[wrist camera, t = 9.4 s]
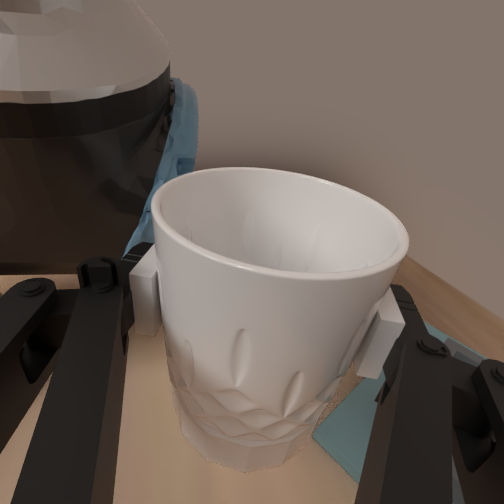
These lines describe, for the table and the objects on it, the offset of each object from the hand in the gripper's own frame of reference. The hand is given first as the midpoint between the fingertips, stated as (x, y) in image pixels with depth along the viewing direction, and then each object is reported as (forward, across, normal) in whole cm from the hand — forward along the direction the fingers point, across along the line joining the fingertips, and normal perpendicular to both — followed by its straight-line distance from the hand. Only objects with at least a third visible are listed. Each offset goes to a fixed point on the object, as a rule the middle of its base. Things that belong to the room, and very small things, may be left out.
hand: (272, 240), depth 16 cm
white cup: (-5, 0, -6) cm, 8 cm away
